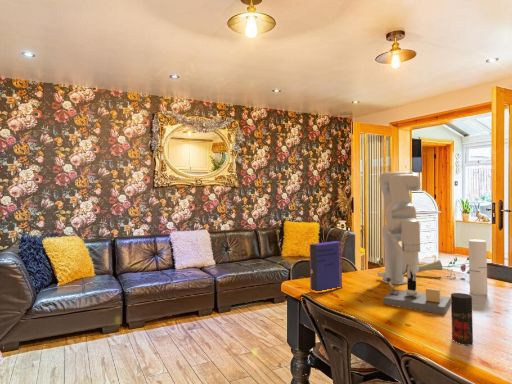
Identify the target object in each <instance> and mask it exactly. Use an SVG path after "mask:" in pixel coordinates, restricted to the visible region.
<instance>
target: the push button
mask: <svg viewBox="0 0 512 384" xmlns="http://www.w3.org/2000/svg"><path fill="white" fill-rule="evenodd" d="M405 291H406V294H407V295H412V296H415V295H417V293H418V289H417V288H416V290H408V287H407V288H406V290H405Z"/></svg>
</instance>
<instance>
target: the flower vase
mask: <svg viewBox="0 0 512 384" xmlns="http://www.w3.org/2000/svg"><path fill="white" fill-rule="evenodd" d="M457 261H458V258H457V257H453V261H452V260H451V261H449V262H448V263H449V264H448V265H445V266H443V265H442V262H441V260H440V259H438V260H436V261H433V262H430V263H426V264H419V271H418V272H417V273H420V272H422V273H423V272H425V271H443V268H446V270H447V271H448V272H449V273H450V277H451V276H452V274H453V275H454V276H456V275H455V273H453V272H454V271H453V270H451V269H450V268H457V264H456V262H457ZM467 261H469V256H467V258H466V262H465V263H462V264H459V268H460V271H462V273H463V272H466V269H467V268H469V262H467ZM466 264H468V266H467V265H466ZM417 273H416V274H417Z"/></svg>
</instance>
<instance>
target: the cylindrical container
mask: <svg viewBox="0 0 512 384" xmlns="http://www.w3.org/2000/svg"><path fill="white" fill-rule="evenodd" d="M487 257H488V256H487V240H485V239H484V240H483V239H468V258H469V260H468V266H469V267H468V269H469V270H468V271H469V275H468V276H469V293H470V294H474V295H479V296H482V295H483V296H485V295H488V267H487V266H488V261H487Z"/></svg>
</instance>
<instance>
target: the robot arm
mask: <svg viewBox="0 0 512 384" xmlns="http://www.w3.org/2000/svg"><path fill="white" fill-rule="evenodd" d="M378 180H379V181H378V183H379V187H380V190H381V192H382V196H383V208H384V212H383V213H384V221H385V225H384V226H382V228H381V232H382V238H383V244H384V245H383V246H384V247H383V248H384V250H383V251H384V272H380V271H379V272H377V276H378V277H380V278H381V277H382V279H381V281H382V282H383V283H385V284H389V282H387V281H386V278H387V277H389V278H390V279H391V283H392V285H405V284H407V288H408V290H416V289H417V280H416V279H417V272H418V271H419V265H420V261H419V253H421V232H420V231H421V229H420V226H421V224H420V221H419V220H418V219H417V212H416V211H417V210H416V207H415V206H414V205H413V204H411V201H412V199H411V195H410V194H411V193H410V192H411V191H414V192H415V191H418V190H419V189H420V188H421V180H420V177H419V175H418V174H417V173H416V172H414V171H408V170H407V171H387V172H382V173H381V174H380V175H379V177H378ZM398 242H401V244H400V243H398ZM418 273H419V272H418ZM405 274H406V278H405Z"/></svg>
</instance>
